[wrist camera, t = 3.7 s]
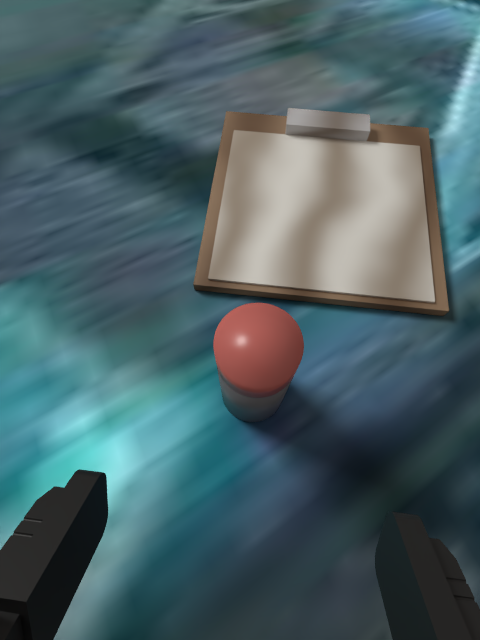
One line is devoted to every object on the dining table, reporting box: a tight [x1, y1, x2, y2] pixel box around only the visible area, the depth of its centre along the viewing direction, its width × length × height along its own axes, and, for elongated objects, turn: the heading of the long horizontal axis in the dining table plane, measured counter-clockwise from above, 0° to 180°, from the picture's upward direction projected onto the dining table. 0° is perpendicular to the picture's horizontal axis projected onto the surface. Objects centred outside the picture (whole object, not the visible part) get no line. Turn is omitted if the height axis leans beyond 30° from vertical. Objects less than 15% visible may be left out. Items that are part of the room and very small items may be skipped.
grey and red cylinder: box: [214, 303, 304, 422], centre depth 21 cm, size 4×4×9 cm
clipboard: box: [193, 108, 449, 316], centre depth 31 cm, size 18×18×2 cm
